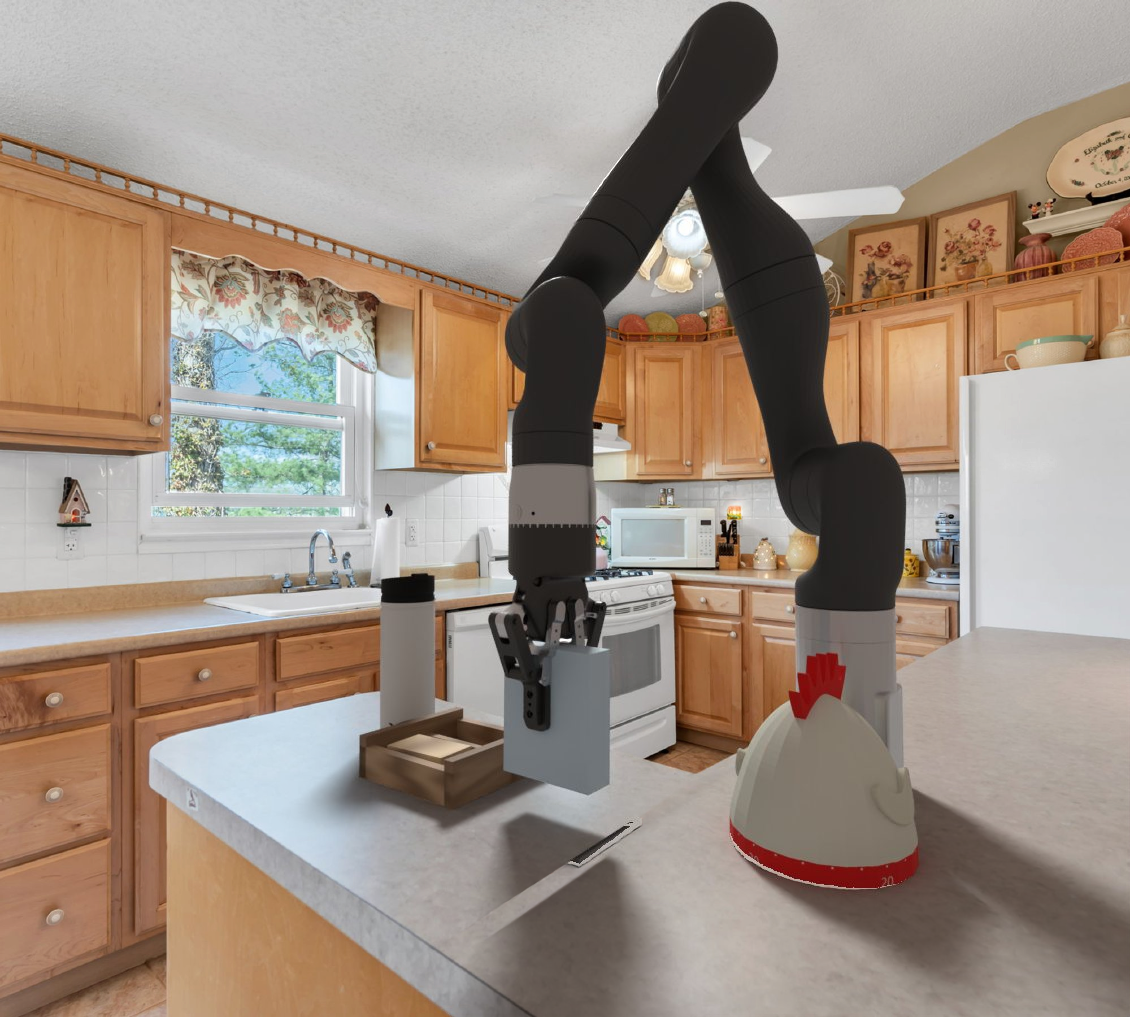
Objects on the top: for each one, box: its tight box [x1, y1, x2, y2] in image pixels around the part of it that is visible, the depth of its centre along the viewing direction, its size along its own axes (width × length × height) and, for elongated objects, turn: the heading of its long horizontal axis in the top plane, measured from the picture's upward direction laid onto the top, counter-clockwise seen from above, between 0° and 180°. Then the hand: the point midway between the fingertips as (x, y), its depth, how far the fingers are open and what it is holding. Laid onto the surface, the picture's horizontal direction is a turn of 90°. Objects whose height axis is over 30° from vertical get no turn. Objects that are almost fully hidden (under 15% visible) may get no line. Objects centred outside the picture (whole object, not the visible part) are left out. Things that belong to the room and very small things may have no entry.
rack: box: [358, 706, 526, 810], centre depth 68 cm, size 13×13×5 cm
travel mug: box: [379, 572, 436, 729], centre depth 80 cm, size 6×7×20 cm
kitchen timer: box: [729, 652, 920, 888], centre depth 55 cm, size 14×14×15 cm
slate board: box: [503, 641, 611, 796], centre depth 58 cm, size 9×3×11 cm, turn 53°
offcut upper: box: [387, 734, 471, 765], centre depth 66 cm, size 7×4×2 cm, turn 57°
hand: (551, 723), depth 58 cm, fingers closed on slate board, 3 cm apart
